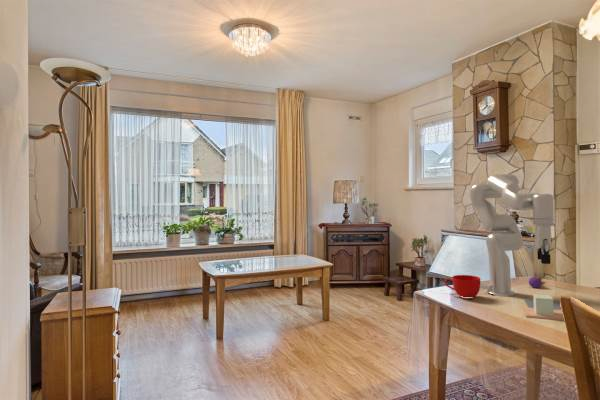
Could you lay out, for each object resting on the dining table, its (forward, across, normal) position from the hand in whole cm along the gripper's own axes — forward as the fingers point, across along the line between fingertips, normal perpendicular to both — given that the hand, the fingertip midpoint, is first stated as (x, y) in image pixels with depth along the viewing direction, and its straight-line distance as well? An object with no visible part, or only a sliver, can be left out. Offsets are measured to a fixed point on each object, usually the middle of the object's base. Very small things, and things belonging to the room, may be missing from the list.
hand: (543, 261), depth 156 cm
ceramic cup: (+23, -14, -33) cm, 42 cm away
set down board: (+22, +6, -1) cm, 23 cm away
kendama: (+24, -53, +4) cm, 58 cm away
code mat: (+22, -10, +2) cm, 24 cm away
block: (+21, +6, -1) cm, 22 cm away
